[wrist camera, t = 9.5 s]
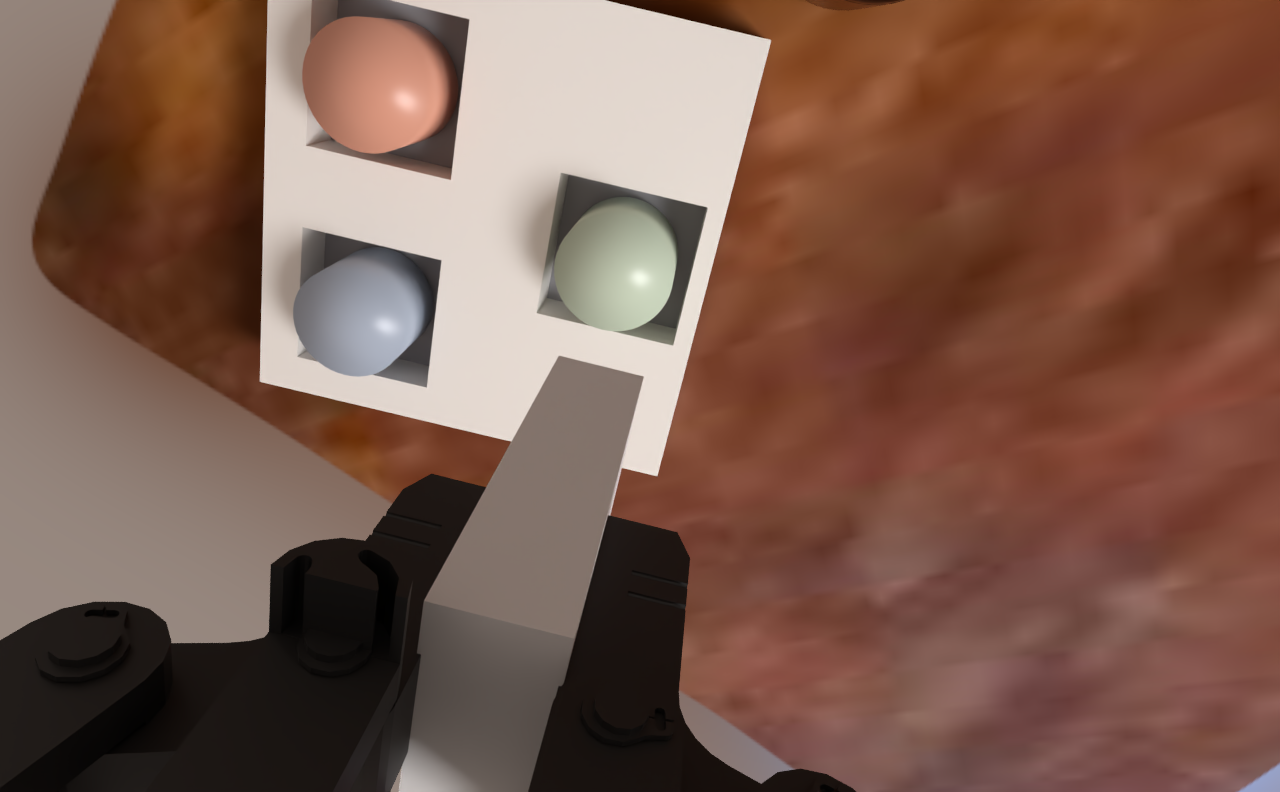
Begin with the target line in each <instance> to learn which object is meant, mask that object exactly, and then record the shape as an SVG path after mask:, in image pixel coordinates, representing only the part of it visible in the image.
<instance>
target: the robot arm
mask: <svg viewBox="0 0 1280 792" xmlns="http://www.w3.org/2000/svg"><path fill="white" fill-rule="evenodd" d="M643 378H644V376H640V375H636V374H632V373H628V372H624V371H620V370H616V369H612V368H608V367H603V366H599V365H595V364H591V363H587V362H583V361H579V360H575V359H571V358H567V357H563V356H558V358H557V360H556V362H555V363H554V365H553V367H552V369H551V371H550V373H549V374H548V376H547V378H546V380H545V382H544V383H543V385H542V387H541V389H540V391H539V393H538V394H537V396H536V398H535V400H534V402H533V403H532V405H531V407H530V409H529V411H528V413H527V414H526V416H525V418H524V420H523V422H522V423H521V425H520V427H519V429H518V431H517V433H516V434H515V436H514V438H513V440H512V442H511V443H510V445H509V447H508V449H507V451H506V453H505V454H504V456H503V458H502V460H501V462H500V463H499V465H498V467H497V469H496V471H495V473H494V474H493V476H492V478H491V480H490V482H489V483H488V485H487V487H482V486H478V485H474V484H470V483H466V482H462V481H458V480H454V479H450V478H446V477H442V476H438V475H434V474H430V475H428V476H427V477H425V478H423V479H421V480H419V481H417V482H416V483H414V484H412V485H410V486H408V487H406V488H405V489H403V490H402V492H401V493H400V494H399V496H398V497H397V498H396V500H395V501H394V503H393V504H392V505H391V507H390V508H389V509H388V511H387V514H386V516H383V518H382V519H381V520H380V522H379V523H378V524H377V526H376V527H375V528H374V530H373V533H372V535H369V537H368V538H367V539H366V541H363V540H354V539H346V538H339V539H338V538H337V539H329V540H320V541H314V542H311V543H308V544H305V545H303V546H300V547H297V548H294V549H292V550H289V551H288V552H287V553H285V554H284V555H283V556H282V557H280V558H279V559H278V560H277V561H275V562H274V563H272V564H271V579H270V581H271V583H270V616H269V617H270V618H269V632H268V634H267V635H266V636H265V637H264V638H260V639H256V640H252V641H244V642H233V643H171V638H170V635H169V631H168V628H167V624H166V622H165V621H164V620H163V619H161V618H160V617H159V616H158V615H156V614H155V613H154V612H153V611H151V610H150V609H148V608H144V607H140V606H137V605H133V604H130V603H127V602H92V603H87V604H82V605H77V606H73V607H68V608H63V609H60V610H58V611H56V612H53V613H51V614H49V615H47V616H44V617H42V618H40V619H38V620H35V621H33V622H31V623H29V624H27V625H26V626H24V627H22V628H21V629H19V630H17V631H16V632H14V633H12V634H10V635H9V636H7V637H5V638H3V639H2V640H0V792H390V791H391V788H392V786H393V784H394V782H395V780H396V777H397V775H398V773H399V771H400V769H401V767H402V770H401V778H400V785H399V792H856V791H855V790H854V789H853V788H851V787H849V786H847V785H845V784H844V783H842V782H840V781H838V780H836V779H834V778H833V777H831V776H829V775H827V774H823V773H818V772H814V771H809V770H804V769H796V770H789V771H783V772H777V773H776V774H775V775H773V776H772V777H771V778H769V779H768V780H766V781H765V782H764V783H762V784H760V783H758V782H757V781H755V780H753V779H751V778H750V777H748V776H746V775H744V774H742V773H741V772H739V771H737V770H735V769H734V768H731V767H730V766H728V765H727V764H725V763H724V762H722V761H721V760H719V759H718V758H716V757H715V756H714V755H712V754H711V753H710V752H709V751H708V750H707V749H705V747H704V746H703V745H702V744H701V743H700V742H699V741H698V740H697V739H696V738H695V737H694V735H693V734H692V732H691V731H690V729H689V728H688V726H687V725H686V723H685V721H684V718H683V715H682V712H681V709H680V706H679V681H680V669H681V657H682V646H683V634H684V622H685V607H686V598H687V585H688V575H689V563H690V557H689V555H688V553H687V551H686V549H685V547H684V545H683V543H682V541H681V539H680V537H679V535H678V533H677V532H674V531H670V530H666V529H662V528H658V527H654V526H650V525H646V524H642V523H637V522H633V521H629V520H625V519H621V518H617V517H613V516H610V513H611V509H612V505H613V501H614V497H615V493H616V489H617V485H618V481H619V477H620V473H621V468H622V464H623V460H624V456H625V452H626V448H627V444H628V440H629V436H630V432H631V428H632V423H633V419H634V415H635V411H636V407H637V403H638V399H639V395H640V391H641V387H642V383H643Z"/></svg>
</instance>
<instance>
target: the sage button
mask: <svg viewBox="0 0 1280 792" xmlns="http://www.w3.org/2000/svg"><path fill="white" fill-rule="evenodd" d="M677 260H678V243H677V239H676V235H675V233H674V230H673V228H672V226H671V224H670V223H669V221H668V220H667V218H666V217H665V216H664V215H663V214H662V213H661V212H660V211H659V210H658V209H657V208H655V207H654V206H652V205H651V204H649V203H647V202H645V201H643V200H639V199H636V198H631V197H614V198H610V199H606V200H603V201H601V202H599V203H597V204H595V205H594V206H592V207H591V208H590V209H588V210H587V211H586V212H585V213H584V214H583V215H582V217H581V218H580V219H579V220H578V222H577V223H576V224H575V225H574V226H573V228H572V229H571V230H570V231H569V233H568V234H567V235H566V236H565V238H564V239H563V241H562V243H561V244H560V246H559V249H558V251H557V254H556V258H555V265H554V277H555V283H556V286H557V290H558V292H559V295H560V297H561V299H562V300H563V302H564V304H565V305H566V306H567V308H568V309H569V310H570V311H571V312H572V313H573V314H574V315H575V316H576V317H577V318H579V319H580V320H581V321H583V322H584V323H586V324H588V325H590V326H592V327H595V328H598V329H601V330H607V331H626V330H630V329H634V328H637V327H639V326H641V325H643V324H645V323H647V322H648V321H650V320H651V319H653V318H654V317H655V316H656V315H657V314H658V313H659V312H660V311H661V310H662V308H663V307H664V305H665V304H666V302H667V300H668V298H669V296H670V293H671V289H672V285H673V280H674V275H675V270H676V265H677Z"/></svg>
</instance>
